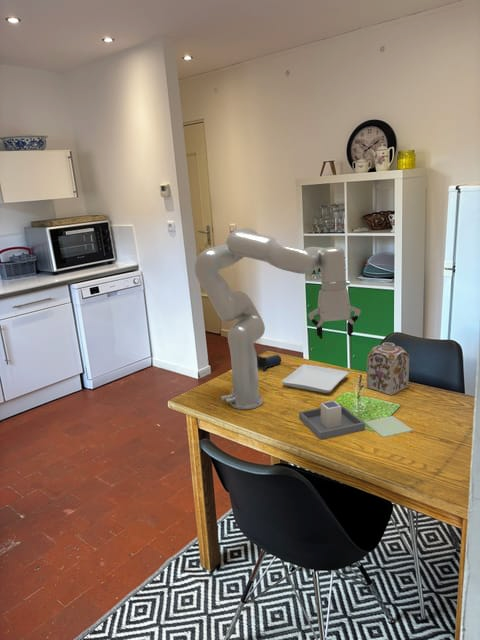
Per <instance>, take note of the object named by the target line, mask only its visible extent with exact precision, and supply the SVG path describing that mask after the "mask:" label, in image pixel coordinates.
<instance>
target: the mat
mask: <svg viewBox="0 0 480 640" xmlns="http://www.w3.org/2000/svg"><path fill="white" fill-rule="evenodd" d="M363 422H364V423H365V425H367V426H368V427H369V428H371V429H372V430H373V431H374V432H375V433H377V434H378V435H379V436H380V437H382V438H388V437H392V436H396V435H400V434H404V433H414V430H413V429H412V428H411V427H409V426H408V425H406V424H405V423H403V422H402V421H400V420H399V419H398V418H396V417H395V416H393V415H390V416H385V417H382V418H376V419H372V420H371V419H370V420H367V421H363Z"/></svg>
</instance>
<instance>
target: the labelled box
mask: <svg viewBox="0 0 480 640" xmlns="http://www.w3.org/2000/svg"><path fill="white" fill-rule="evenodd" d="M339 404H340V403H338V402H336V401H335V400H330V401H324V402H321V403H320V408H321V423H322V424H323V425H324V426H325V427H327V428H328V429H329V428H334V427H338V426H341V406H340V405H339Z"/></svg>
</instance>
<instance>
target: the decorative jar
mask: <svg viewBox="0 0 480 640" xmlns="http://www.w3.org/2000/svg"><path fill="white" fill-rule="evenodd" d="M409 374H410V354H408V352H407V351H406V350H405V349H404V348H403V347H401V346H399V345H396V344H395V343H393V342H387V341H386V342H383V343H382V344H378V345H377V346H374V347H372V349H371V350H370V351H369V353H368V354H367V357H366V388H367V389H368V390H369V389H370V390H372V391H376V392H378V393H381V394H385V395H388V396H394V395H396V394H398V393H399V392H402V391H403V390H404V389H407V388H408V387H409V377H410V375H409Z"/></svg>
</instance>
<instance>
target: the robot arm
mask: <svg viewBox="0 0 480 640" xmlns="http://www.w3.org/2000/svg"><path fill="white" fill-rule="evenodd" d="M345 257H346V255H345V250H344V248H343V247H340V246H329V247H328V246H327V247H320V246H309V247H305V248H303V249H297V248H291V247H288V246H284V245H282V244H280V243H278V242H277V239H275V237H273V236H268V235H263V234H260V233H258V232H257V231H256V230H254V229H252V228H248V227H246V228H240V229H236V230H234V231H232V232H231V233H229V235H228V236H227V238H226V241H225V242H224V243H222V244H221V245H220V244H219V245H216V246H212V247H209V248H207V249H204V250H203V251H202V252H200V254H199V255H198V256H197V257H196V260H195V263H194V273H195V277H196V278H197V281H198V282H199V284H200V285H201V288H202V289H203V290H204V292H205V293H206V296H207V297H208V299H209V301H210V302H211V305H212V306H213V309H214V310H215V311H216V314H217V315H218V317H219V318H220V319H221V320H222V321H224V322H226V323H228V322H232V321H235V320H236V321H237V322H235V323H234V324H233V325H232V326H231V327H230V328H229V330H228V333H227V343H228V348H229V353H230V360H231V361H230V363H231V364H230V365H231V375H232V376H231V377H232V390H231V391H230V393H228V394H226V395H221V396H220V399H221V402H224V401H225V402H226V403H229V405H230V406H231V407H233V408H235V409H237V410H252V409H256V408H258V407H261V406H262V405H263V403H264V398H263V396H261V395H260V394H259V392H260V391H259V375H258V374H259V373H258V370H259V369H258V368H257V352H256V349H255V343H256V342H257V341H258V340H259V339H261V338H262V337H263V335H264V334H265V328H266V326H265V323H264V320H263V319H262V316H261V315H260V313H259V312H258V309H257V307H256V306H255V304H254V302H253V301H252V299H251V298H250V297H249V295H248V294H247V293H245V292H244V291H241V290H234V291H233V290H232V289H231V288H230V286H229V283H228V282H227V280H226V279H225V278H224V277H223V276H222V275H221V274H220V273H219V272H220V271H221V270H224V269H226V268H229V267H232V266H233V265H235V264H236V263H238V262H239V261H241V260H243V259H244V258H248V259H251V260H252V259H253V260H256V261H257V260H258V261H261V262H264V263H268V265H271V266H273V267H275V268H277V269H279V270H283V271H287V272H291V273H295V274H301V275H304V274H309V273H311V272H313V271H315V270H317V269H320V278H321V279H320V280H321V289H320V290H318V298H317V299H318V300H317V307H316V308H315V309H313V310H312V311H311V312H308V314H307V316H308V318H309V319H310V321H311V323H312V324H313V325H314V326H316V335H317V337H318V338H319V339H320V340H323V327H322V325H323V324H324V322H333V321H344V320H346V321H347V323H346V333H347V335H348V337H352V336H353V335H352V334H353V333H354V324H355V322H357V320H358V319H359V316H360V315H361V312H362V310H361V309H359V308H356V307H355V306H352V305H351V302H350V296H349V291H348V289H347V286H350V283H351V281H349V280H348V281H347V280H346V268H345V267H346V266H345V263H346V262H345V259H346V258H345ZM351 312H354V315H353V316H352V317H351ZM316 315H317V318H318V319H317V320H316V319H315V318H314V317H315V316H316Z"/></svg>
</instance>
